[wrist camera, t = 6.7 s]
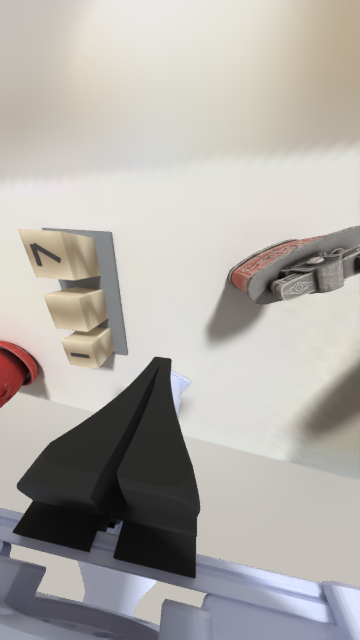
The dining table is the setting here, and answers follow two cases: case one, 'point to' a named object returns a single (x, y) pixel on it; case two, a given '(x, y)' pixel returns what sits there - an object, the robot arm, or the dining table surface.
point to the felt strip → (103, 284)
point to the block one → (89, 347)
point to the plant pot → (14, 370)
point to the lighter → (299, 267)
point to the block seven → (60, 254)
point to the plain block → (77, 308)
